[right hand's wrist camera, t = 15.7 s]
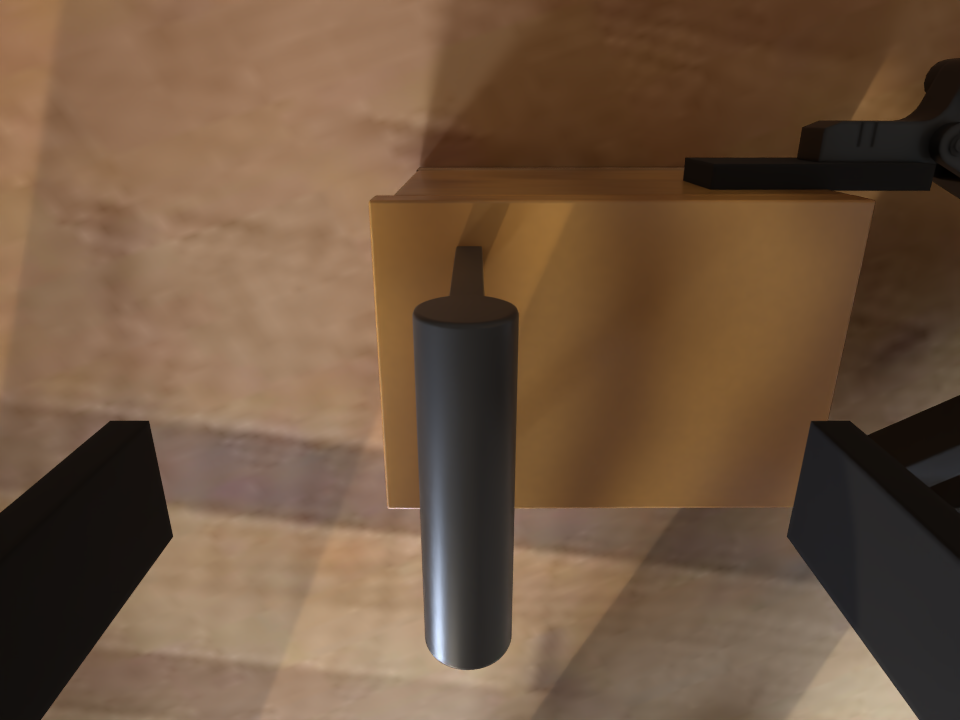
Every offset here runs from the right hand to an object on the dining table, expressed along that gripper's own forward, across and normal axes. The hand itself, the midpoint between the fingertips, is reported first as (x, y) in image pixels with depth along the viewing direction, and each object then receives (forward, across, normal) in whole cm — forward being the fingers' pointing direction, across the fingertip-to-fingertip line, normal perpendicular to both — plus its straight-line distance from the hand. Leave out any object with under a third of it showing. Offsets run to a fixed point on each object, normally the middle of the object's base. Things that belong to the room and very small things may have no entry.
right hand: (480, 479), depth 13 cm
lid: (+7, -4, 0) cm, 8 cm away
